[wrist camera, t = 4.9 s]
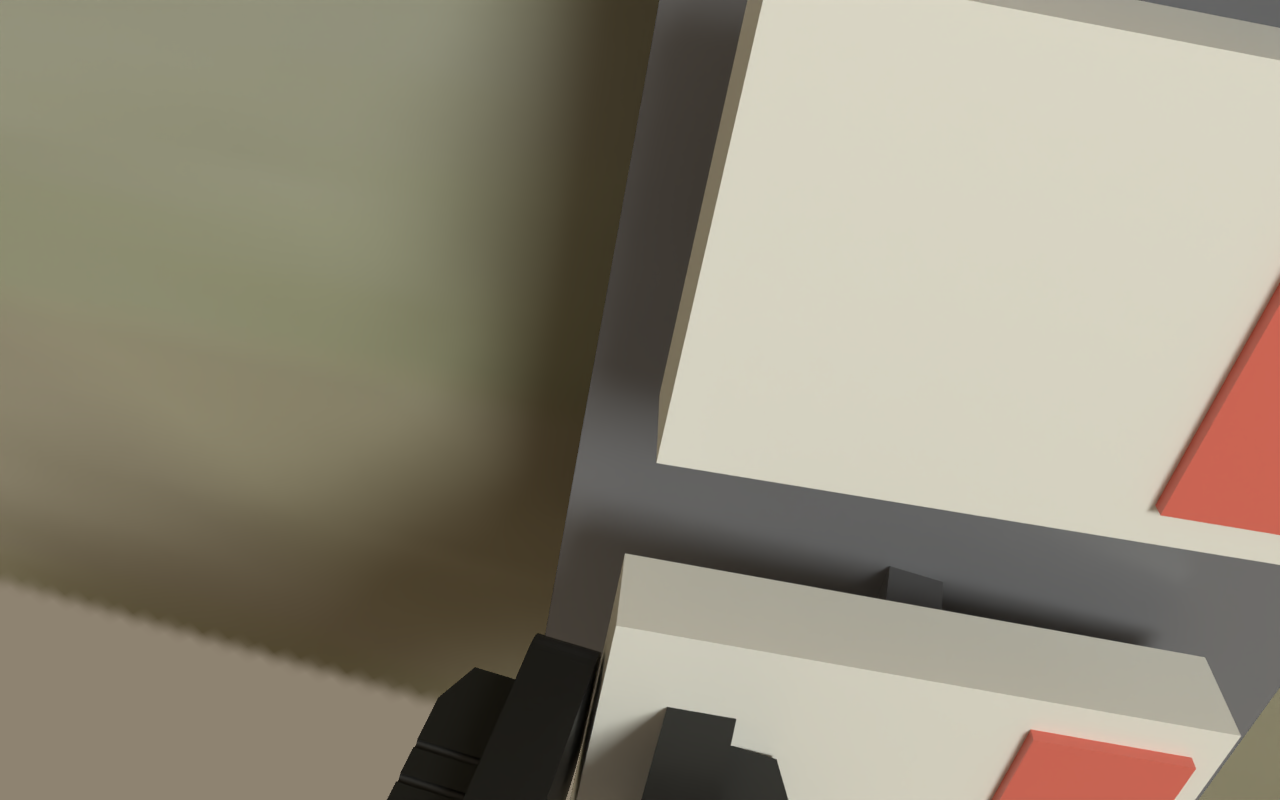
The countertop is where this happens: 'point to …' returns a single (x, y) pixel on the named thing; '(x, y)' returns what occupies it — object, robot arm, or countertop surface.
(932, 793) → the rocker
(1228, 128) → the rocker middle
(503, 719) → the robot arm
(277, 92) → the countertop surface
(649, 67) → the power strip
